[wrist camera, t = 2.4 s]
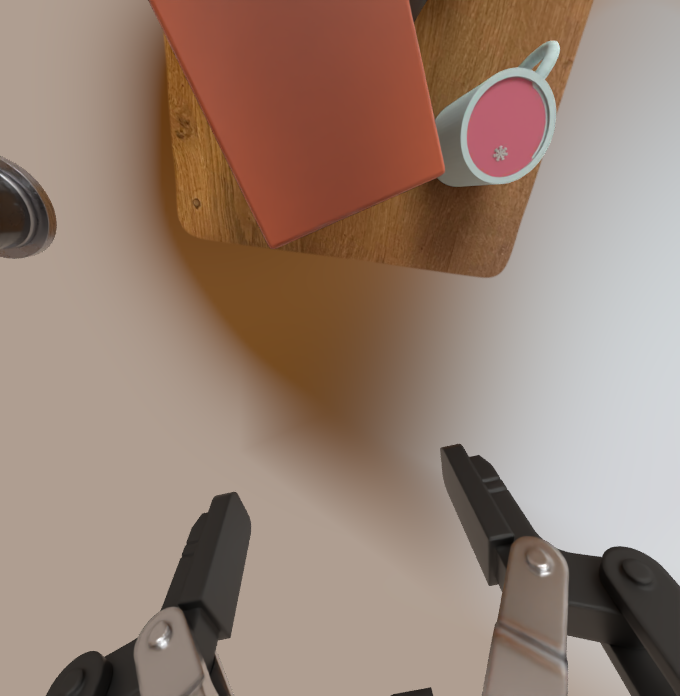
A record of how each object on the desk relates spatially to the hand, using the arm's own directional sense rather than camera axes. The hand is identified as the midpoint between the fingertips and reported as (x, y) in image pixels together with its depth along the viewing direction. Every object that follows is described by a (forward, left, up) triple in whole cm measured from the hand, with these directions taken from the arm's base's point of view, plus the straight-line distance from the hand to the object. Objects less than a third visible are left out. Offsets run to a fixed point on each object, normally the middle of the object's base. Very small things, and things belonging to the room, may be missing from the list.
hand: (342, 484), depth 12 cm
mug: (+23, +12, -36) cm, 45 cm away
